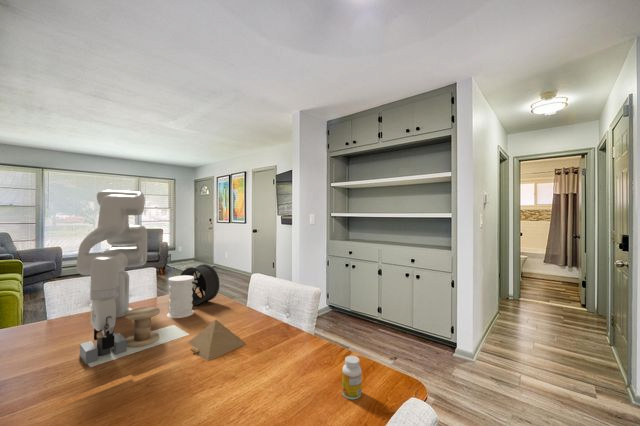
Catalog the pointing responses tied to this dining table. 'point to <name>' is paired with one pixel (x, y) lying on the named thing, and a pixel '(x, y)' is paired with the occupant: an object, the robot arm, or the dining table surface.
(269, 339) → the dining table surface
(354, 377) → the supplement bottle
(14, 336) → the dining table surface
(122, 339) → the terminal block
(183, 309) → the decorative container
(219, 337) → the model pyramid
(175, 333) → the base board
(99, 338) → the plug
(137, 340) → the bobbin
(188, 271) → the wheel rim
